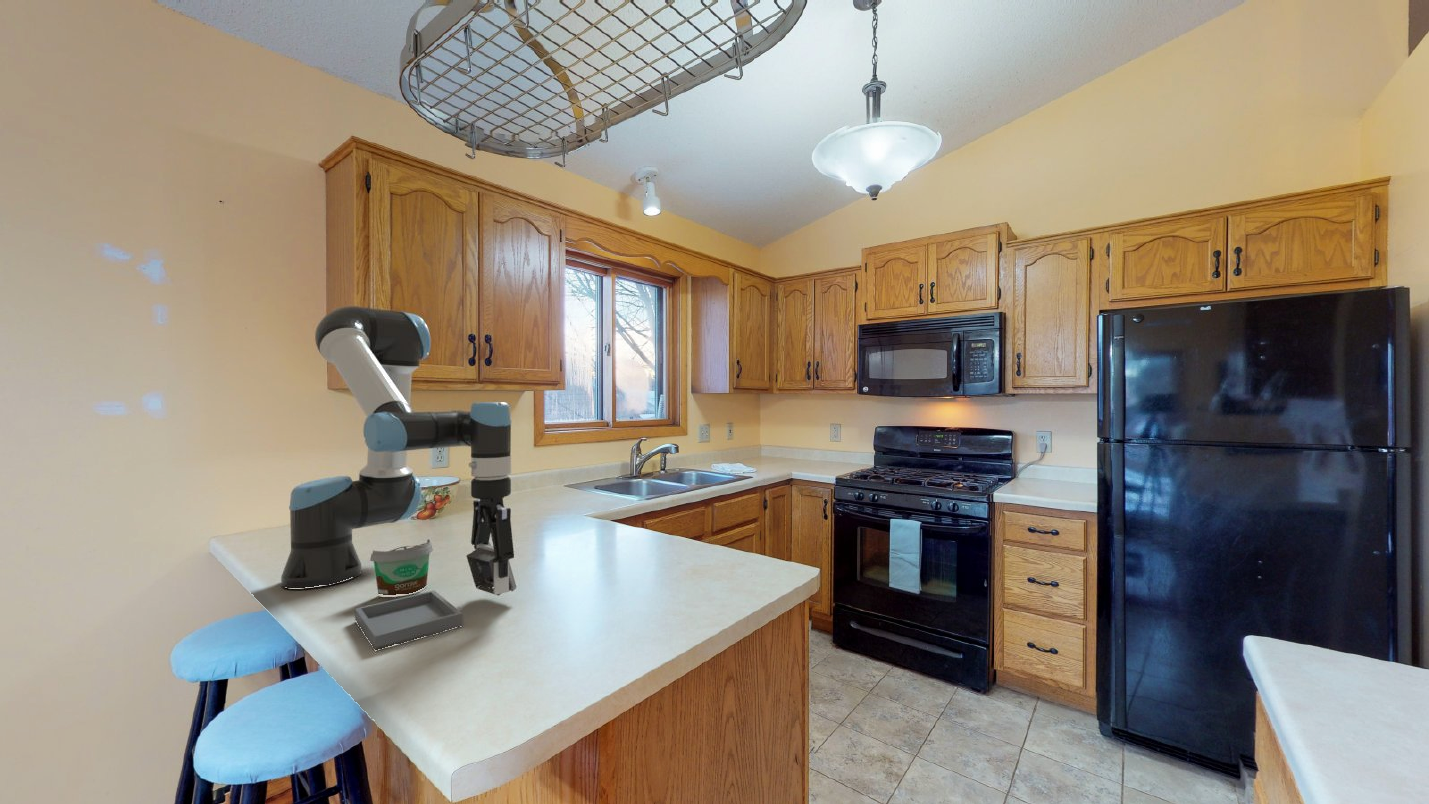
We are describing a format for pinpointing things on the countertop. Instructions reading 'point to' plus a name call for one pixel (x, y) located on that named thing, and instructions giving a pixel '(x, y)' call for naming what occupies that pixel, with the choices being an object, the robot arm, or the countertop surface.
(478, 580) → the electrical switch
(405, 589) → the food container
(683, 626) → the countertop surface
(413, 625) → the back box
